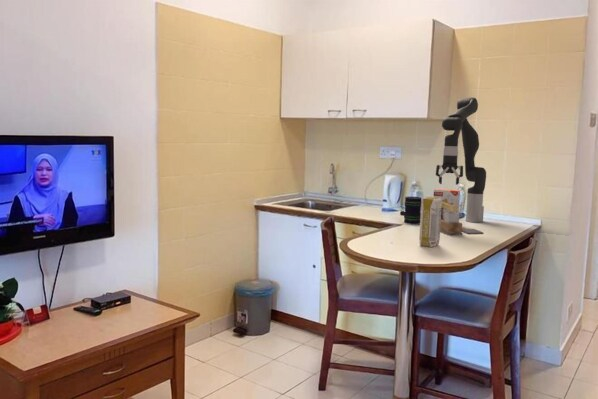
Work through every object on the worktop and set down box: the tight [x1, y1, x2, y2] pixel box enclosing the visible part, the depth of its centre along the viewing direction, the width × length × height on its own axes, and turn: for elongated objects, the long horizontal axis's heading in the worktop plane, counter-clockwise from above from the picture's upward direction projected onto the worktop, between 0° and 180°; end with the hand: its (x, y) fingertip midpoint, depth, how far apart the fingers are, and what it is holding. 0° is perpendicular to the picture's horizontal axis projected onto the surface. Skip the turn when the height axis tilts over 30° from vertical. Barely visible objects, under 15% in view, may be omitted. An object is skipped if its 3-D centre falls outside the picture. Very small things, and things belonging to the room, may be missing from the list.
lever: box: [441, 202, 458, 218], centre depth 286 cm, size 18×4×9 cm, turn 11°
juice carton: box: [418, 195, 442, 248], centre depth 249 cm, size 9×8×24 cm
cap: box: [444, 212, 460, 223], centre depth 281 cm, size 6×5×5 cm
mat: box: [462, 228, 485, 235], centre depth 285 cm, size 9×10×1 cm
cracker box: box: [432, 188, 461, 217], centre depth 304 cm, size 14×6×21 cm, turn 62°
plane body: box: [440, 217, 464, 236], centre depth 287 cm, size 9×21×6 cm, turn 11°
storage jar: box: [403, 196, 423, 225], centre depth 311 cm, size 10×10×15 cm
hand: (448, 184), depth 286 cm, fingers open, 8 cm apart
